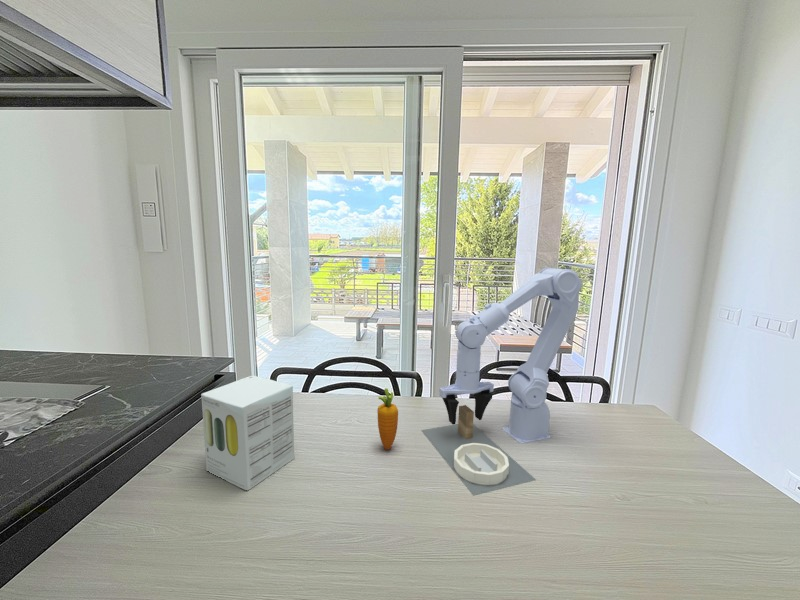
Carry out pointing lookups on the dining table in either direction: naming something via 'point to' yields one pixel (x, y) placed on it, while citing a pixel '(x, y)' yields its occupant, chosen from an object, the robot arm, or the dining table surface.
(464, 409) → the tan cardboard box
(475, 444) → the plate
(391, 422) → the carrot
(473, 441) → the slate board
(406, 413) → the dining table surface
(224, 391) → the supplement box
